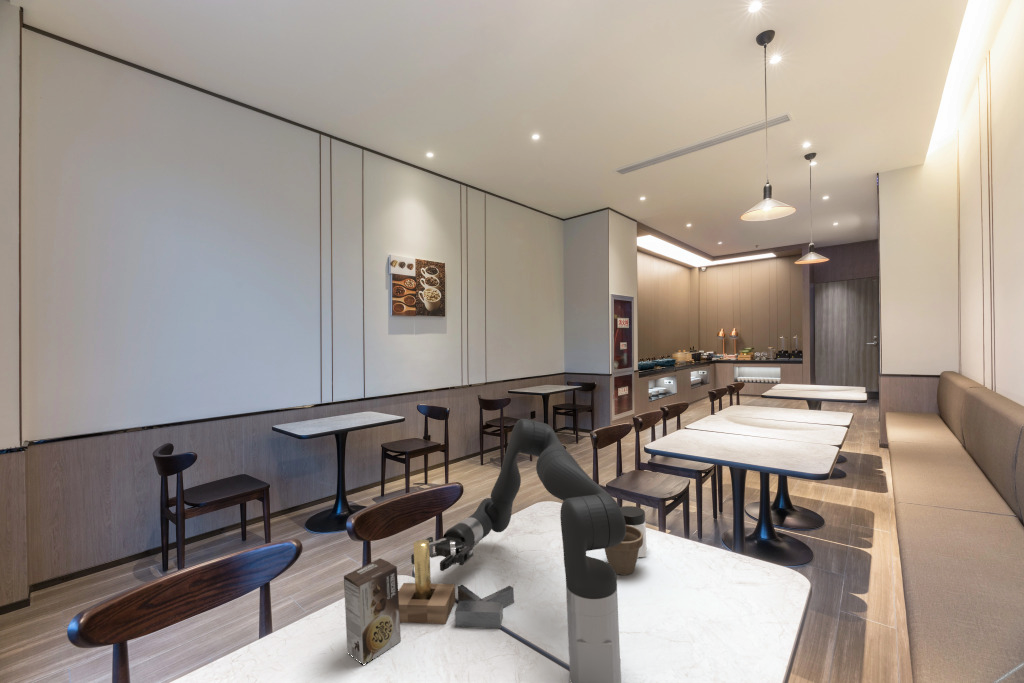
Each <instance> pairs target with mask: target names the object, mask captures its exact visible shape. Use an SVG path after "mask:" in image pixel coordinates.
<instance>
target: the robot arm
mask: <svg viewBox="0 0 1024 683" xmlns="http://www.w3.org/2000/svg"><path fill="white" fill-rule="evenodd" d="M507 443H508V444H507V447H506V451H505V454H504V457H503V460H502V465H501V469H500V472H499V474H498V477H497V479H496V482H495V483H494V486H493V488H492V490H491V492H490V497H486V498H484V499H483V500H482V501H481V502H480V503H479V505H478V506H477V508H476V510H475V511H474V513H473V514H471V515H469V516H468V517H467V518H464V519H463V520H460V521H459V522H458V523H456V524H454V525H453V526H451V527H449V529H447V530H446V531H445V532H444V534H443V536H442V538H439V539H437V540H434V537H433V536H430V537H427V538H426V539H424V540H428V541H429V552H430V559H431V558H432V559H433V558H436V557H437V558H438V557H444V558H443V559H442V560H440V562H439V570H440V572H445V571H446V570H447V569H449V568H451V567H452V566H455V565H457V564H458V566H464V565H465V564H466V563H467V562H468V561H469V560H470V559H471V558H472V557H473V556H474V548H475V546H477V545H478V544H479V543H480V541H481V540H483V539H484V538H485V537H487V536H488V535H489V533H491V531H493V532H495V533H502V532H504V531H505V530H506V529H507V528H508V526H509V524H510V522H511V518H512V512H513V504H514V500H515V499H516V497H517V494H518V493H519V490H520V489H521V484H522V482H521V481H522V479H521V473H520V470H519V466H518V461H517V460H518V456H519V454H525V455H528V456H529V455H530V456H533V457H534V456H535V457H537V458H538V459H537V461H536V463H535V464H536V465H535V466H536V467H535V469H536V470H535V471H536V474H537V476H538V479H539V480H540V481H541V482H540V483H542V485H543V487H544V488H545V490H547V492H548V494H551V496H553V497H555V498H557V499H559V500H561V501H562V503H561V506H560V529H561V538H562V540H561V541H562V548H563V549H562V550H563V564H564V574H565V587H566V588H565V592H566V595H565V596H566V616H567V618H566V619H567V638H568V639H567V640H568V642H567V643H568V662H569V664H568V665H569V680H571V681H570V683H571V682H572V683H622V672H621V669H622V667H621V651H620V650H621V649H620V648H621V647H620V629H619V628H620V627H619V603H618V602H619V601H618V578H617V574H616V572H615V570H614V568H613V567H612V566H611V565H610V564H608V562H607V561H605V560H602V559H599V558H595V557H591V556H588V555H587V552H589V551H590V552H591V551H597V550H603V549H604V548H610V547H613V546H616V545H618V544H620V543H621V542H622V541H623V540H624V538H625V535H626V523H625V519H624V516H623V513H622V511H621V509H620V506H619V505H620V504H618V502H617V501H616V499H615V498H614V497H613V496H612V495H611V494H610V493H609V492H607V491H606V490H605V489H604V488H603V487H602V486H600V485H599V484H598V483H597V482H596V481H594V480H593V479H592V478H591V476H589V474H587V472H586V471H584V469H583V468H582V467H581V465H580V464H579V463H578V461H576V459H575V458H574V456H573V455H572V454H571V453H570V452H568V450H567V449H566V448H565V447H564V445H563V444H562V442H561V441H560V440H559V438H558V435H557V434H556V432H555V430H554V428H552V426H550V425H549V424H548V423H546V422H545V423H544V422H540V421H536V420H534V419H533V420H532V419H528V418H527V419H526V418H520V419H518V420H517V421H516V423H515V424H514V426H513V428H512V430H511V434H510V436H509V441H508V442H507ZM434 547H435V548H434ZM434 550H435V552H434ZM604 550H605V549H604ZM410 556H411V557H410V558H411V559H410V560H411V562H410V563H411V565H414V553H413V554H412V553H411V555H410Z"/></svg>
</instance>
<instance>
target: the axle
mask: <svg viewBox="0 0 1024 683" xmlns="http://www.w3.org/2000/svg"><path fill="white" fill-rule="evenodd" d="M413 554H414V564H413V566H414V583H415V593H416V599H420V600H430V599H431V584H432V580H431V557H430V552H429V541H428V540H425V539H417V540H416V541H414V542H413Z"/></svg>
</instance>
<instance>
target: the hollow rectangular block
mask: <svg viewBox="0 0 1024 683" xmlns="http://www.w3.org/2000/svg"><path fill="white" fill-rule="evenodd" d="M398 596H399V616H400V623H408V624H409V623H410V624H411V623H413V624H440V625H444V624H445V625H446V624H447V622H448V620H449V618H450V615H451V612H452V610H453V608H454V606H455V603H456V600H457V599H456V596H457V595H456V584H455V583H431V599H430V600H420V599H416V593H415V582H404V583H403V584H402V585H401V586H400V588H398Z"/></svg>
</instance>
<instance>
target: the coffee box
mask: <svg viewBox="0 0 1024 683" xmlns="http://www.w3.org/2000/svg"><path fill="white" fill-rule="evenodd" d="M343 585H344V589H343V590H344V607H345V608H344V609H345V629H346V652H348V653H349V654H350V655H352V656H353V657H354V658H355V659H357V660H358V661H360V662H361V663H362V664H365V663H367V662H369V661H370V662H372V661H373V660H375V659H376V658H377V656H378V657H380V656H381V655H382V654H384V653H386V651H388V650H390V649H391V648H393V647H394V646H396V645H397V644H399V643H401V641H402V638H401V626H400V625H401V622H400V616H399V596H398V591H399V582H398V567H397V566H396V565H394V564H393V563H391V562H389V561H387V560H385V559H383V558H378V559H376V560H373V561H372V562H370V563H368V564H365V565H363V566H362V567H360V568H357V569H355V570H353V571H351V572H349V573H347V574H345V575H344V576H343ZM348 653H347V654H348ZM349 654H348V655H349ZM350 655H349V656H350ZM354 658H353V659H354ZM374 658H375V659H374ZM355 659H354V660H355ZM372 659H373V660H372ZM371 660H372V661H371ZM358 661H357V662H358ZM370 662H369V663H370ZM367 664H368V663H367Z"/></svg>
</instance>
